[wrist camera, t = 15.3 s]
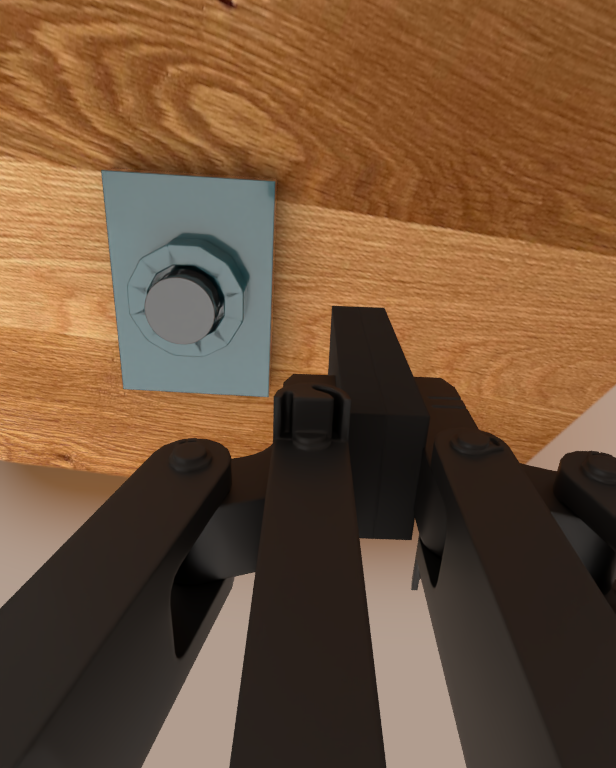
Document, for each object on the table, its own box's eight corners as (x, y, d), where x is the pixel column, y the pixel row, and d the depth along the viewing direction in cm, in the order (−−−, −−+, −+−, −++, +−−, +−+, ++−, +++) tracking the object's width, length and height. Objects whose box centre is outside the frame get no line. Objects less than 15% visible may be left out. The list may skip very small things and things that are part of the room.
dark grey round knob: (220, 334, 33) (215, 346, 31) (156, 331, 32) (146, 342, 31) (220, 270, 31) (214, 279, 29) (151, 266, 31) (141, 275, 29)
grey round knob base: (270, 385, 38) (266, 411, 34) (132, 377, 38) (113, 402, 34) (277, 178, 32) (273, 184, 28) (112, 168, 32) (87, 172, 28)
